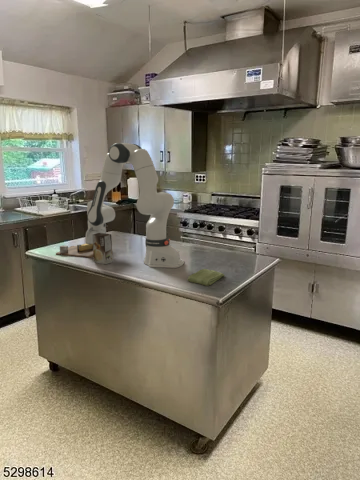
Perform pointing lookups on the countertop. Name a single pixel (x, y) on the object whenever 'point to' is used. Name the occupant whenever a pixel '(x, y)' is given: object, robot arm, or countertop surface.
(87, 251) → the board
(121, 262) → the countertop surface
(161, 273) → the countertop surface
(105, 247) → the coffee box
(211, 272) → the washcloth
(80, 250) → the bar
